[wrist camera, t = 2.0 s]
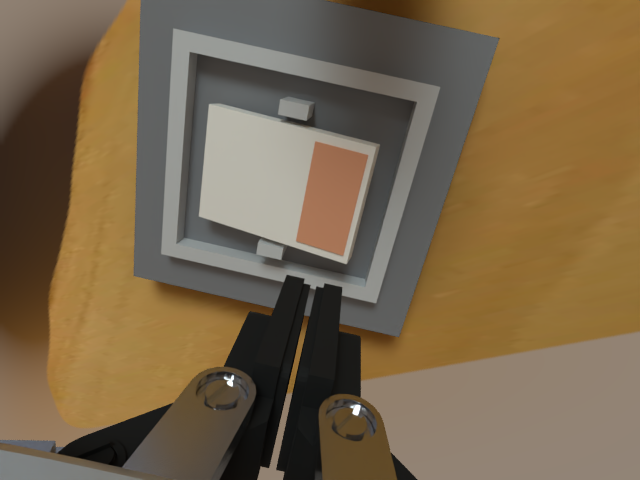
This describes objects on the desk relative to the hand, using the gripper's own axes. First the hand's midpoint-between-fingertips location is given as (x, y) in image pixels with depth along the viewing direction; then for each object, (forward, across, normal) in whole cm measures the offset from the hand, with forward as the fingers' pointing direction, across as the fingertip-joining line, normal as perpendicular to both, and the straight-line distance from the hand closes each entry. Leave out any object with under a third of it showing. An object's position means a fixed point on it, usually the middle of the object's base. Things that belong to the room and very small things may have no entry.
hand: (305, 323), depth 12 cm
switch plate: (+18, +3, 0) cm, 19 cm away
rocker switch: (+13, +3, 0) cm, 14 cm away
